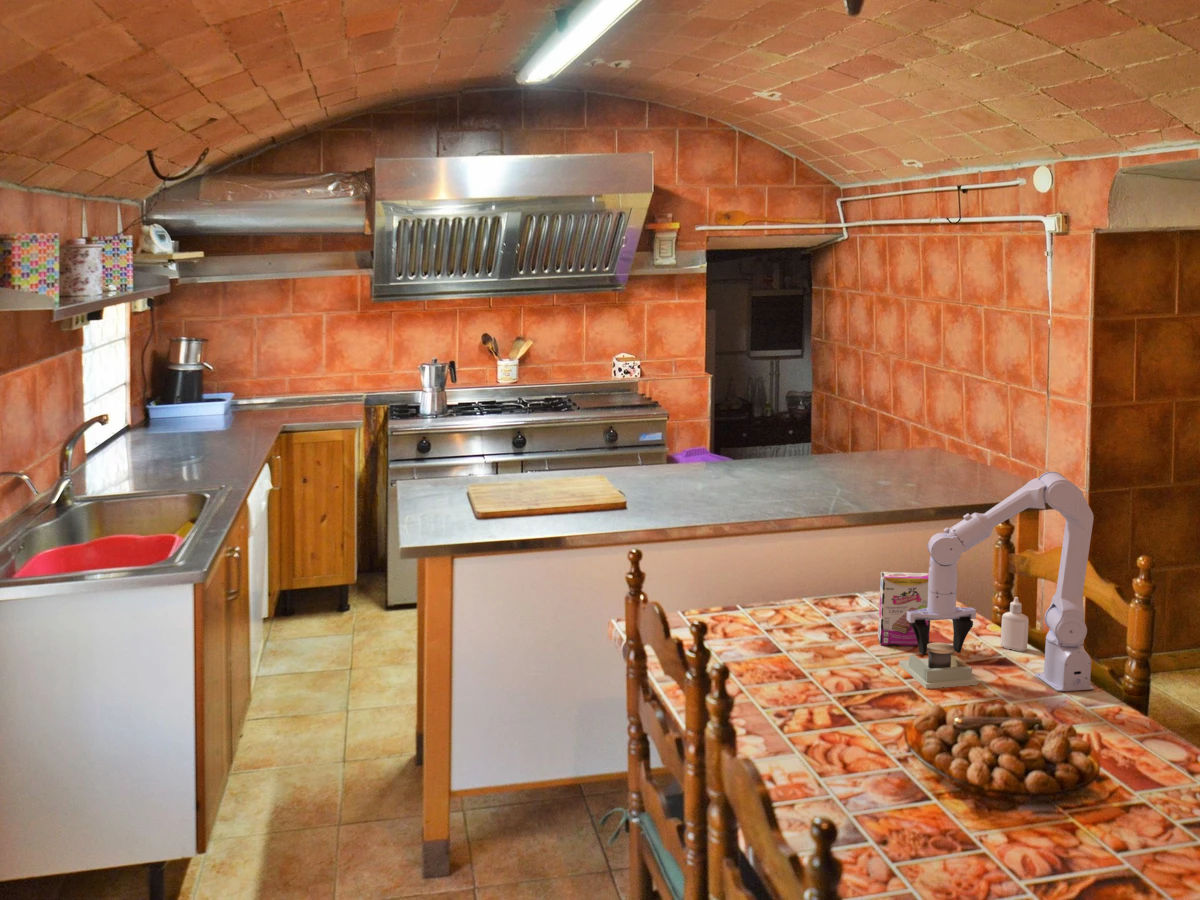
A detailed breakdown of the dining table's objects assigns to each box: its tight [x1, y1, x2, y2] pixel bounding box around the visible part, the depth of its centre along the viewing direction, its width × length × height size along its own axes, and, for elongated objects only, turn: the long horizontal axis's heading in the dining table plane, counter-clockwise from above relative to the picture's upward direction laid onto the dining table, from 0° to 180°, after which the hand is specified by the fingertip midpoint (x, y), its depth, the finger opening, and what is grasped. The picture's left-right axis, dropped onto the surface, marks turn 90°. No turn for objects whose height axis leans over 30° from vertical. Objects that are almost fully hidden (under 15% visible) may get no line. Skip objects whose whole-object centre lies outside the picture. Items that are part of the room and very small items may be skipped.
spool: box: [927, 642, 954, 669], centre depth 239 cm, size 6×6×6 cm
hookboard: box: [898, 650, 980, 690], centre depth 240 cm, size 14×12×4 cm
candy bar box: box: [877, 571, 931, 647], centre depth 259 cm, size 11×5×16 cm, turn 84°
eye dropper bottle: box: [999, 596, 1029, 652], centre depth 255 cm, size 4×6×12 cm
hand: (939, 652), depth 239 cm, fingers open, 7 cm apart
